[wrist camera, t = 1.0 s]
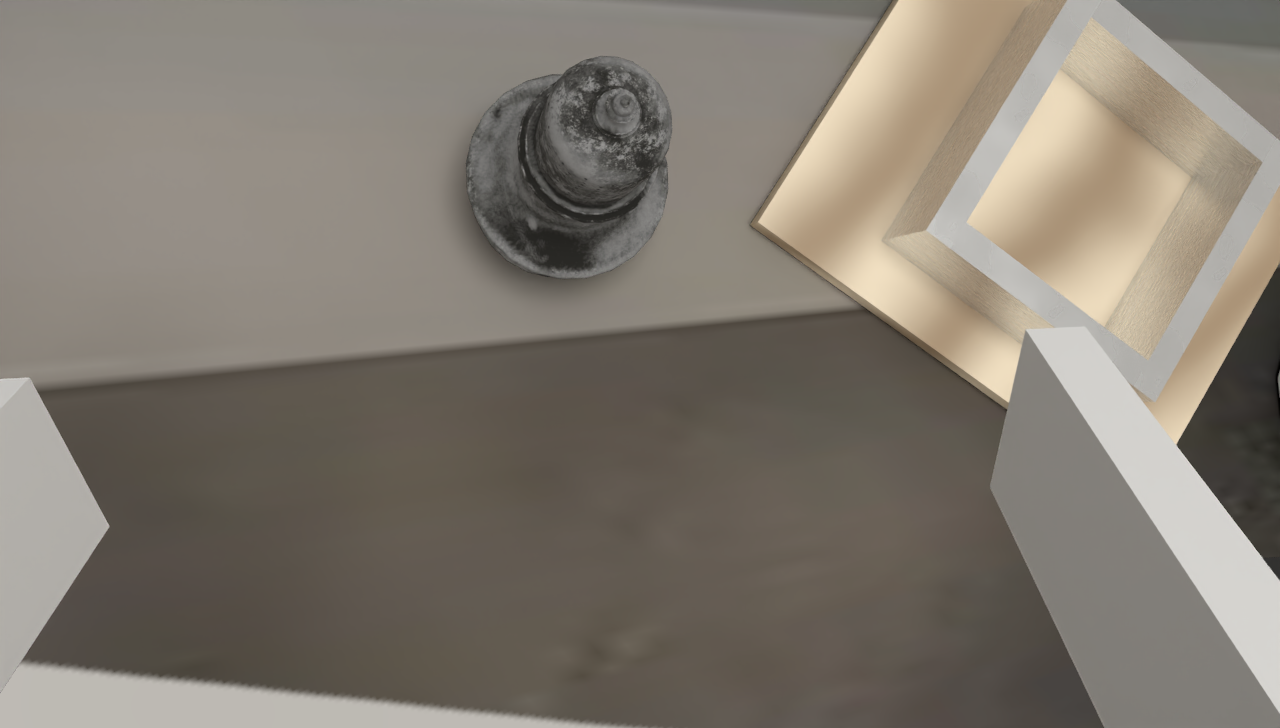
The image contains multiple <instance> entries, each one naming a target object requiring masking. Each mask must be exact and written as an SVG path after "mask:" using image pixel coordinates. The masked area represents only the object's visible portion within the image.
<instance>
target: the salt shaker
mask: <svg viewBox="0 0 1280 728" xmlns="http://www.w3.org/2000/svg"><path fill="white" fill-rule="evenodd" d="M671 134H672V116H671V110H670V107H669V104H668V100H667V97H666V95H665V94H664V92H663V90H662V88H661V87H660V85H659V83H658V82H657V81H656V80H655V79H654V78H653V77H652V76H651V75H650V74H649V73H648V72H647V71H646V70H645V69H643V68H642V67H640V66H639V65H637V64H635V63H634V62H632V61H629V60H626V59H622V58H619V57H612V56H599V57H595V58H591V59H587V60H584V61H581V62H580V63H578V64H576V65H575V66H573V67H571V68H569V69H568V70H567V71H566V72H565V73H564V74H563V75H554V74H552V75H548V76H544V77H540V78H536V79H532V80H528V81H525V82H524V83H522V84H520V85H518V86H517V87H515V88H513V89H511V90H510V91H508V92H506V93H504V94H503V95H502V96H501V97H500V98H499V99H498V100H497V101H496V102H495V103H494V104H493V105H492V106H491V107H490V108H489V109H488V110H487V111H486V112H485V114H484V116H483V118H482V119H481V121H480V123H479V125H478V127H477V129H476V130H475V132H474V134H473V136H472V139H471V144H470V148H469V152H468V157H467V161H466V176H467V192H468V195H469V199H470V202H471V205H472V208H473V211H474V215H475V218H476V219H477V221H478V222H479V224H480V228H481V229H482V231H483V233H484V234H485V236H486V237H487V239H488V240H489V242H490V244H491V245H492V247H493V248H494V249H495V250H497V251H498V252H499V253H500V254H501V255H502V256H503V257H504V258H505V259H506V260H507V261H508V262H510V263H512V264H514V265H516V266H518V267H519V268H521V269H523V270H525V271H527V272H530V273H535V274H539V275H543V276H547V277H555V278H559V279H569V278H588V277H591V276H595V275H598V274H602V273H605V272H608V271H611V270H613V269H615V268H616V267H618V266H619V265H621V264H623V263H624V262H626V261H627V260H629V259H631V258H632V257H634V256H635V254H636V253H637V252H638V251H639V250H640V249H641V248H642V247H643V246H644V245H645V244H646V243H647V241H648V240H649V239H650V238H651V236H652V235H653V233H654V231H655V229H656V227H657V225H658V223H659V221H660V219H661V217H662V215H663V211H664V207H665V202H666V198H667V193H668V170H667V161H666V158H665V155H666V153H667V151H668V149H669V144H670V139H671Z"/></svg>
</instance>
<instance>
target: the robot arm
mask: <svg viewBox="0 0 1280 728" xmlns="http://www.w3.org/2000/svg"><path fill="white" fill-rule="evenodd" d="M990 488H991V490H992V493H993V495H994V497H995V499H996V501H997V503H998V505H999V507H1000V509H1001V512H1002V514H1003V516H1004V518H1005V520H1006V522H1007V524H1008V526H1009V528H1010V530H1011V533H1012V535H1013V537H1014V539H1015V541H1016V543H1017V545H1018V547H1019V549H1020V551H1021V554H1022V556H1023V558H1024V560H1025V562H1026V564H1027V566H1028V568H1029V570H1030V572H1031V575H1032V577H1033V579H1034V581H1035V583H1036V585H1037V587H1038V589H1039V591H1040V593H1041V596H1042V598H1043V600H1044V602H1045V604H1046V606H1047V608H1048V610H1049V612H1050V614H1051V617H1052V619H1053V621H1054V623H1055V625H1056V627H1057V629H1058V631H1059V633H1060V635H1061V638H1062V640H1063V642H1064V644H1065V646H1066V648H1067V650H1068V652H1069V654H1070V656H1071V659H1072V661H1073V663H1074V665H1075V667H1076V669H1077V671H1078V673H1079V675H1080V677H1081V680H1082V682H1083V684H1084V686H1085V688H1086V690H1087V692H1088V694H1089V696H1090V698H1091V701H1092V703H1093V705H1094V707H1095V709H1096V711H1097V713H1098V715H1099V717H1100V719H1101V722H1102V724H1103V726H1104V728H1280V557H1271V558H1262V557H1261V556H1260V554H1259V553H1258V552H1257V550H1256V549H1255V548H1254V546H1253V545H1252V544H1251V543H1250V541H1249V540H1248V539H1247V537H1246V536H1245V535H1244V533H1243V532H1242V531H1241V529H1240V528H1239V527H1238V526H1237V524H1236V523H1235V522H1234V520H1233V519H1232V518H1231V516H1230V515H1229V514H1228V512H1227V511H1226V510H1225V509H1224V507H1223V506H1222V505H1221V503H1220V502H1219V501H1218V499H1217V498H1216V497H1215V495H1214V494H1213V493H1212V492H1211V490H1210V489H1209V488H1208V486H1207V485H1206V484H1205V482H1204V481H1203V480H1202V478H1201V477H1200V476H1199V475H1198V473H1197V472H1196V471H1195V469H1194V468H1193V467H1192V465H1191V464H1190V463H1189V461H1188V460H1187V459H1186V458H1185V456H1184V455H1183V454H1182V452H1181V451H1180V450H1179V448H1178V447H1177V446H1176V444H1175V443H1174V442H1173V441H1172V439H1171V438H1170V437H1169V435H1168V434H1167V433H1166V431H1165V430H1164V429H1163V427H1162V426H1161V425H1160V424H1159V422H1158V421H1157V420H1156V418H1155V417H1154V416H1153V414H1152V413H1151V412H1150V410H1149V409H1148V408H1147V407H1146V405H1145V404H1144V403H1143V401H1142V400H1141V399H1140V397H1139V396H1138V395H1137V394H1136V392H1135V391H1134V390H1133V388H1132V387H1131V386H1130V384H1129V383H1128V382H1127V380H1126V379H1125V378H1124V377H1123V375H1122V374H1121V373H1120V371H1119V370H1118V369H1117V367H1116V366H1115V365H1114V363H1113V362H1112V361H1111V360H1110V358H1109V357H1108V356H1107V354H1106V353H1105V352H1104V350H1103V349H1102V348H1101V346H1100V345H1099V344H1098V343H1097V341H1096V340H1095V339H1094V337H1093V336H1092V335H1091V333H1090V332H1089V331H1088V329H1087V328H1086V327H1085V326H1083V327H1062V328H1042V329H1025V334H1024V338H1023V343H1022V347H1021V351H1020V356H1019V360H1018V365H1017V369H1016V374H1015V378H1014V383H1013V387H1012V391H1011V396H1010V400H1009V405H1008V409H1007V414H1006V418H1005V423H1004V427H1003V431H1002V436H1001V440H1000V445H999V449H998V454H997V458H996V463H995V467H994V471H993V476H992V480H991V485H990ZM108 528H109V525H108V523H107V521H106V519H105V517H104V515H103V513H102V512H101V510H100V508H99V506H98V504H97V502H96V500H95V499H94V497H93V495H92V493H91V491H90V489H89V487H88V485H87V484H86V482H85V480H84V478H83V476H82V474H81V472H80V471H79V469H78V467H77V465H76V463H75V461H74V459H73V457H72V456H71V454H70V452H69V450H68V448H67V446H66V444H65V443H64V441H63V439H62V437H61V435H60V433H59V431H58V430H57V428H56V426H55V424H54V422H53V420H52V418H51V416H50V415H49V413H48V411H47V409H46V407H45V405H44V403H43V402H42V400H41V398H40V396H39V394H38V392H37V390H36V389H35V387H34V385H33V383H32V381H31V379H30V378H10V379H0V693H1V691H2V690H3V688H4V687H5V685H6V684H7V682H8V681H9V679H10V677H11V676H12V674H13V673H14V672H15V670H16V668H17V667H18V665H19V664H20V662H21V661H22V659H23V658H24V656H25V655H26V653H27V652H28V650H29V649H30V647H31V646H32V644H33V643H34V641H35V639H36V638H37V636H38V635H39V633H40V632H41V630H42V629H43V627H44V626H45V624H46V623H47V621H48V620H49V618H50V617H51V615H52V614H53V612H54V610H55V609H56V607H57V606H58V604H59V603H60V601H61V600H62V598H63V597H64V595H65V594H66V592H67V591H68V589H69V588H70V586H71V584H72V583H73V581H74V580H75V578H76V577H77V575H78V574H79V572H80V571H81V569H82V568H83V566H84V565H85V563H86V562H87V560H88V559H89V557H90V555H91V554H92V552H93V551H94V549H95V548H96V546H97V545H98V543H99V542H100V540H101V539H102V537H103V536H104V534H105V533H106V531H107V530H108Z"/></svg>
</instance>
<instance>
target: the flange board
mask: <svg viewBox="0 0 1280 728" xmlns="http://www.w3.org/2000/svg"><path fill="white" fill-rule="evenodd" d="M1035 1H1036V0H893V1H892V2H891V4H890V6H889V7H888V9H887V10H886V12H885V13H884V15H883V17H882V18H881V20H880V21H879V23H878V25H877V26H876V28H875V29H874V31H873V32H872V34H871V36H870V37H869V39H868V40H867V42H866V43H865V45H864V47H863V48H862V50H861V51H860V53H859V54H858V56H857V58H856V59H855V61H854V62H853V64H852V65H851V67H850V69H849V70H848V72H847V73H846V75H845V76H844V78H843V80H842V81H841V83H840V84H839V86H838V87H837V89H836V91H835V92H834V94H833V95H832V97H831V98H830V100H829V102H828V103H827V105H826V106H825V108H824V110H823V111H822V113H821V114H820V116H819V117H818V119H817V121H816V122H815V124H814V125H813V127H812V128H811V130H810V132H809V133H808V135H807V136H806V138H805V139H804V141H803V143H802V144H801V146H800V147H799V149H798V150H797V152H796V154H795V155H794V157H793V158H792V160H791V161H790V163H789V165H788V166H787V168H786V169H785V171H784V172H783V174H782V176H781V177H780V179H779V180H778V182H777V183H776V185H775V187H774V188H773V190H772V191H771V193H770V194H769V196H768V198H767V199H766V201H765V202H764V204H763V206H762V207H761V209H760V210H759V212H758V213H757V215H756V217H755V218H754V220H753V221H752V223H751V224H750V225H751V226H752V227H753V228H755V229H756V230H758V231H759V232H760V233H762V234H763V235H765V236H766V237H767V238H769V239H770V240H772V241H773V242H774V243H776V244H777V245H778V246H780V247H781V248H783V249H784V250H785V251H787V252H788V253H790V254H791V255H792V256H794V257H795V258H797V259H798V260H799V261H801V262H802V263H804V264H805V265H806V266H808V267H809V268H811V269H812V270H813V271H815V272H816V273H817V274H819V275H820V276H822V277H823V278H824V279H826V280H827V281H829V282H830V283H831V284H833V285H834V286H836V287H837V288H838V289H840V290H841V291H843V292H844V293H845V294H847V295H848V296H850V297H851V298H852V299H854V300H855V301H856V302H858V303H859V304H861V305H862V306H863V307H865V308H866V309H868V310H869V311H870V312H872V313H873V314H875V315H876V316H877V317H879V318H880V319H882V320H883V321H884V322H886V323H887V324H889V325H890V326H891V327H893V328H894V329H895V330H897V331H898V332H900V333H901V334H902V335H904V336H905V337H907V338H908V339H909V340H911V341H912V342H914V343H915V344H916V345H918V346H919V347H921V348H922V349H923V350H925V351H926V352H928V353H929V354H930V355H932V356H933V357H934V358H936V359H937V360H939V361H940V362H941V363H943V364H944V365H946V366H947V367H948V368H950V369H951V370H953V371H954V372H955V373H957V374H958V375H960V376H961V377H962V378H964V379H965V380H967V381H968V382H969V383H971V384H972V385H973V386H975V387H976V388H978V389H979V390H980V391H982V392H983V393H985V394H986V395H987V396H989V397H990V398H992V399H993V400H994V401H996V402H997V403H999V404H1000V405H1001V406H1003V407H1004V408H1006V409H1008V405H1009V400H1010V396H1011V391H1012V387H1013V383H1014V378H1015V374H1016V369H1017V365H1018V360H1019V356H1020V351H1021V347H1022V345H1021V344H1020V343H1019V342H1017V341H1016V340H1015V339H1013V338H1012V337H1011V336H1009V335H1008V334H1007V333H1005V332H1004V331H1003V330H1001V329H1000V328H998V327H997V326H996V325H994V324H993V323H992V322H990V321H989V320H988V319H986V318H985V317H984V316H982V315H981V314H980V313H978V312H977V311H975V310H974V309H973V308H971V307H970V306H969V305H967V304H966V303H965V302H963V301H962V300H961V299H959V298H958V297H957V296H955V295H954V294H952V293H951V292H950V291H948V290H947V289H946V288H944V287H943V286H942V285H940V284H939V283H938V282H936V281H935V280H934V279H932V278H931V277H929V276H928V275H927V274H925V273H924V272H923V271H921V270H920V269H919V268H917V267H916V266H915V265H913V264H912V263H911V262H909V261H908V260H906V259H905V258H904V257H902V256H901V255H900V254H898V253H897V252H896V251H894V250H893V249H892V248H890V247H889V246H888V245H886V244H885V243H883V242H882V241H881V240H882V238H883V237H884V235H885V233H886V232H887V230H888V229H889V227H890V225H891V224H892V222H893V221H894V219H895V217H896V216H897V214H898V212H899V211H900V209H901V208H902V206H903V204H904V203H905V201H906V199H907V198H908V196H909V195H910V193H911V191H912V190H913V188H914V187H915V185H916V183H917V182H918V180H919V178H920V177H921V175H922V174H923V172H924V170H925V169H926V167H927V166H928V164H929V162H930V161H931V159H932V157H933V156H934V154H935V153H936V151H937V149H938V148H939V146H940V144H941V143H942V141H943V140H944V138H945V136H946V135H947V133H948V132H949V130H950V128H951V127H952V125H953V123H954V122H955V120H956V119H957V117H958V115H959V114H960V112H961V111H962V109H963V107H964V106H965V104H966V102H967V101H968V99H969V98H970V96H971V94H972V93H973V91H974V89H975V88H976V86H977V85H978V83H979V81H980V80H981V78H982V77H983V75H984V73H985V72H986V70H987V68H988V67H989V65H990V64H991V62H992V60H993V59H994V57H995V56H996V54H997V52H998V51H999V49H1000V47H1001V46H1002V44H1003V43H1004V41H1005V39H1006V38H1007V36H1008V34H1009V33H1010V31H1011V30H1012V28H1013V26H1014V25H1015V23H1016V22H1017V20H1018V18H1019V17H1020V15H1021V13H1022V12H1023V10H1024V9H1025V7H1026V6H1028V5H1029V4H1031V3H1033V2H1035ZM1190 180H1191V177H1190V176H1189V175H1188V174H1186V173H1185V172H1184V171H1183V170H1182V169H1180V168H1179V167H1178V166H1177V165H1176V164H1174V163H1173V162H1172V161H1171V160H1169V159H1168V158H1167V157H1166V156H1165V155H1163V154H1162V153H1161V152H1160V151H1159V150H1157V149H1156V148H1155V147H1154V146H1153V145H1151V144H1150V143H1149V142H1148V141H1146V140H1145V139H1144V138H1143V137H1142V136H1140V135H1139V134H1138V133H1137V132H1136V131H1134V130H1133V129H1132V128H1131V127H1129V126H1128V125H1127V124H1126V123H1125V122H1123V121H1122V120H1121V119H1120V118H1119V117H1117V116H1116V115H1115V114H1114V113H1113V112H1111V111H1110V110H1109V109H1108V108H1106V107H1105V106H1104V105H1103V104H1102V103H1100V102H1099V101H1098V100H1097V99H1096V98H1094V97H1093V96H1092V95H1091V94H1089V93H1088V92H1087V91H1086V90H1085V89H1083V88H1082V87H1081V86H1080V85H1079V84H1077V83H1076V82H1075V81H1074V80H1072V79H1071V78H1070V77H1069V76H1068V75H1066V74H1065V73H1064V72H1063V71H1062V70H1060V69H1059V71H1058V73H1057V74H1056V76H1055V78H1054V79H1053V81H1052V83H1051V84H1050V86H1049V87H1048V89H1047V91H1046V92H1045V94H1044V96H1043V97H1042V99H1041V101H1040V102H1039V104H1038V105H1037V107H1036V109H1035V110H1034V112H1033V114H1032V115H1031V117H1030V119H1029V120H1028V122H1027V124H1026V125H1025V127H1024V128H1023V130H1022V132H1021V133H1020V135H1019V137H1018V138H1017V140H1016V142H1015V143H1014V145H1013V147H1012V148H1011V150H1010V151H1009V153H1008V155H1007V156H1006V158H1005V160H1004V161H1003V163H1002V165H1001V166H1000V168H999V170H998V171H997V173H996V174H995V176H994V178H993V179H992V181H991V183H990V184H989V186H988V188H987V189H986V191H985V192H984V194H983V196H982V197H981V199H980V201H979V202H978V204H977V206H976V207H975V209H974V211H973V212H972V214H971V215H970V217H969V219H968V220H967V223H968V224H969V225H971V226H972V227H973V228H975V229H976V230H977V231H979V232H980V233H981V234H983V235H984V236H985V237H986V238H988V239H989V240H990V241H992V242H993V243H994V244H996V245H997V246H998V247H1000V248H1001V249H1002V250H1004V251H1005V252H1006V253H1007V254H1009V255H1010V256H1011V257H1013V258H1014V259H1015V260H1017V261H1018V262H1019V263H1021V264H1022V265H1023V266H1025V267H1026V268H1027V269H1028V270H1030V271H1031V272H1032V273H1034V274H1035V275H1036V276H1038V277H1039V278H1040V279H1042V280H1043V281H1044V282H1046V283H1047V284H1048V285H1049V286H1051V287H1052V288H1053V289H1055V290H1056V291H1057V292H1059V293H1060V294H1061V295H1063V296H1064V297H1065V298H1067V299H1068V300H1069V301H1070V302H1072V303H1073V304H1074V305H1076V306H1077V307H1078V308H1080V309H1081V310H1082V311H1084V312H1085V313H1086V314H1088V315H1089V316H1090V317H1091V318H1093V319H1094V320H1095V321H1097V322H1098V323H1099V324H1101V325H1102V326H1103V327H1105V325H1106V324H1107V322H1108V320H1109V319H1110V317H1111V315H1112V313H1113V312H1114V310H1115V308H1116V307H1117V305H1118V303H1119V301H1120V300H1121V298H1122V296H1123V295H1124V293H1125V291H1126V289H1127V288H1128V286H1129V284H1130V283H1131V281H1132V279H1133V278H1134V276H1135V274H1136V272H1137V271H1138V269H1139V267H1140V266H1141V264H1142V262H1143V260H1144V259H1145V257H1146V255H1147V254H1148V252H1149V250H1150V248H1151V247H1152V245H1153V243H1154V242H1155V240H1156V238H1157V236H1158V235H1159V233H1160V231H1161V230H1162V228H1163V226H1164V225H1165V223H1166V221H1167V219H1168V218H1169V216H1170V214H1171V213H1172V211H1173V209H1174V207H1175V206H1176V204H1177V202H1178V201H1179V199H1180V197H1181V195H1182V194H1183V192H1184V190H1185V189H1186V187H1187V185H1188V183H1189V182H1190ZM1279 262H1280V186H1279V187H1278V189H1277V191H1276V193H1275V194H1274V196H1273V198H1272V200H1271V201H1270V203H1269V205H1268V207H1267V208H1266V210H1265V212H1264V214H1263V215H1262V217H1261V219H1260V221H1259V222H1258V224H1257V226H1256V228H1255V229H1254V231H1253V233H1252V234H1251V236H1250V238H1249V240H1248V241H1247V243H1246V245H1245V247H1244V248H1243V250H1242V252H1241V254H1240V255H1239V257H1238V259H1237V261H1236V262H1235V264H1234V266H1233V268H1232V269H1231V271H1230V273H1229V275H1228V276H1227V278H1226V280H1225V282H1224V283H1223V285H1222V287H1221V289H1220V290H1219V292H1218V294H1217V296H1216V297H1215V299H1214V301H1213V302H1212V304H1211V306H1210V308H1209V309H1208V311H1207V313H1206V315H1205V316H1204V318H1203V320H1202V322H1201V323H1200V325H1199V327H1198V329H1197V330H1196V332H1195V334H1194V336H1193V337H1192V339H1191V341H1190V343H1189V344H1188V346H1187V348H1186V350H1185V351H1184V353H1183V355H1182V357H1181V358H1180V360H1179V362H1178V364H1177V365H1176V367H1175V369H1174V370H1173V372H1172V374H1171V376H1170V377H1169V379H1168V381H1167V383H1166V384H1165V386H1164V388H1163V390H1162V391H1161V393H1160V395H1159V397H1158V398H1157V400H1156V402H1145V401H1143V403H1144V404H1145V405H1146V407H1147V408H1148V409H1149V410H1150V412H1151V413H1152V414H1153V416H1154V417H1155V418H1156V420H1157V421H1158V422H1159V424H1160V425H1161V426H1162V427H1163V429H1164V430H1165V431H1166V433H1167V434H1168V435H1169V437H1170V438H1171V439H1172V441H1173V442H1174V443H1175V444H1177V442H1178V440H1179V438H1180V437H1181V435H1182V433H1183V431H1184V430H1185V428H1186V426H1187V424H1188V423H1189V421H1190V419H1191V417H1192V416H1193V414H1194V412H1195V410H1196V409H1197V407H1198V405H1199V403H1200V402H1201V400H1202V398H1203V396H1204V394H1205V393H1206V391H1207V389H1208V387H1209V386H1210V384H1211V382H1212V380H1213V379H1214V377H1215V375H1216V373H1217V372H1218V370H1219V368H1220V366H1221V365H1222V363H1223V361H1224V359H1225V358H1226V356H1227V354H1228V352H1229V350H1230V349H1231V347H1232V345H1233V343H1234V342H1235V340H1236V338H1237V336H1238V335H1239V333H1240V331H1241V329H1242V328H1243V326H1244V324H1245V322H1246V321H1247V319H1248V317H1249V315H1250V314H1251V312H1252V310H1253V308H1254V306H1255V305H1256V303H1257V301H1258V299H1259V298H1260V296H1261V294H1262V292H1263V291H1264V289H1265V287H1266V285H1267V284H1268V282H1269V280H1270V278H1271V277H1272V275H1273V273H1274V271H1275V270H1276V268H1277V266H1278V264H1279Z"/></svg>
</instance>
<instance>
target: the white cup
mask: <svg viewBox="0 0 1280 728" xmlns="http://www.w3.org/2000/svg"><path fill="white" fill-rule="evenodd" d="M1278 387H1279V396H1280V371H1279V375H1278Z"/></svg>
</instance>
